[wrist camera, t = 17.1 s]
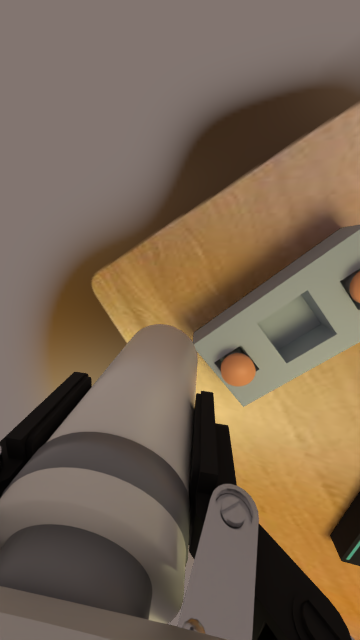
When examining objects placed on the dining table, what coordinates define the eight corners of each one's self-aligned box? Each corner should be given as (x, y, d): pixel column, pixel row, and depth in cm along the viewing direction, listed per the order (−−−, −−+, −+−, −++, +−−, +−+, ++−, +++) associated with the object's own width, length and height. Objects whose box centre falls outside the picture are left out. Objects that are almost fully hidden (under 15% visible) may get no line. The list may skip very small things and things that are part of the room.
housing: (341, 227, 29) (368, 223, 24) (384, 300, 31) (418, 309, 26) (193, 332, 35) (192, 345, 30) (238, 386, 37) (243, 406, 32)
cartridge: (127, 318, 15) (-136, 554, 3) (202, 328, 15) (199, 629, 3) (125, 383, 17) (-59, 696, 5) (193, 394, 16) (166, 756, 5)
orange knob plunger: (237, 335, 33) (242, 350, 28) (254, 357, 33) (262, 375, 29) (212, 351, 34) (214, 368, 29) (229, 372, 35) (233, 392, 30)
